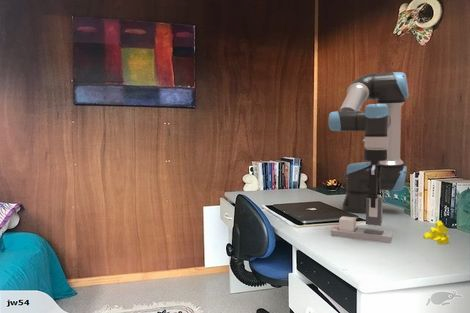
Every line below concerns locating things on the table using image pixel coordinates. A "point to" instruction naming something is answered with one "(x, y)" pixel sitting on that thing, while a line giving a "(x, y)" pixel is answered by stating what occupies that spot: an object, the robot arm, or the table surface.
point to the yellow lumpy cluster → (438, 233)
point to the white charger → (347, 224)
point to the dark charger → (377, 219)
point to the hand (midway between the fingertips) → (374, 214)
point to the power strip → (364, 234)
